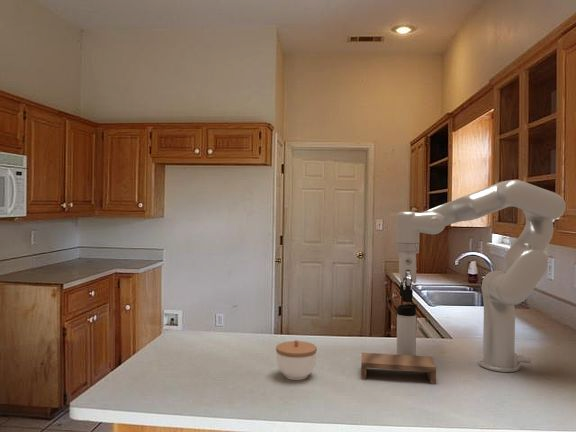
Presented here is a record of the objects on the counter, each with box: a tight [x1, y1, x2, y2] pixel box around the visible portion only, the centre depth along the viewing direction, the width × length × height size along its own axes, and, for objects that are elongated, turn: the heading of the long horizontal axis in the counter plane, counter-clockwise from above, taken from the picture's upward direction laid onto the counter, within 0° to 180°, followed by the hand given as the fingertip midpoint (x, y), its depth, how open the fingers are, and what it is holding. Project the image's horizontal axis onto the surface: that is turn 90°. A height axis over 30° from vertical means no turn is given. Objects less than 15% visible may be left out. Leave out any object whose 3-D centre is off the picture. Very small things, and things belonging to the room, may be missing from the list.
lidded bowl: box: [275, 339, 317, 381], centre depth 142 cm, size 13×13×11 cm
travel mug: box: [396, 303, 418, 356], centre depth 154 cm, size 6×7×20 cm
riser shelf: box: [360, 352, 437, 385], centre depth 143 cm, size 22×10×5 cm, turn 80°
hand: (405, 298), depth 154 cm, fingers open, 9 cm apart
